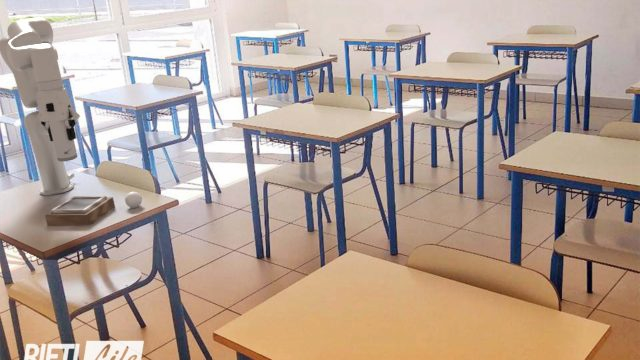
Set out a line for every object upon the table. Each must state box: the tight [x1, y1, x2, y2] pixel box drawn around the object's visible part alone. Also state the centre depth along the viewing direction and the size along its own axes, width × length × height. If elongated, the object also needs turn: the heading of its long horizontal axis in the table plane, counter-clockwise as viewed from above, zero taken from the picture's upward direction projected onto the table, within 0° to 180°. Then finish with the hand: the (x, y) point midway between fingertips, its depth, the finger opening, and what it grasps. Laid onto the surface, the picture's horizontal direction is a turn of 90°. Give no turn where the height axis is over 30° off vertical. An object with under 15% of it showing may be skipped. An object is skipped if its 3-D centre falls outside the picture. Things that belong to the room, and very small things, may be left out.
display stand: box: [44, 195, 116, 227], centre depth 218 cm, size 16×16×5 cm
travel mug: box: [46, 103, 78, 162], centre depth 209 cm, size 6×7×20 cm
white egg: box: [124, 191, 143, 209], centre depth 223 cm, size 8×6×6 cm
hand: (63, 139), depth 211 cm, fingers closed on travel mug, 6 cm apart
